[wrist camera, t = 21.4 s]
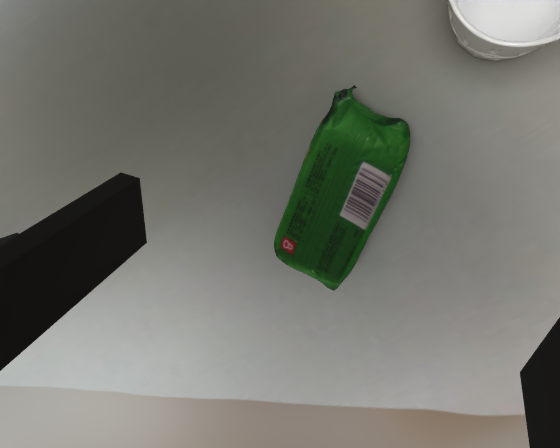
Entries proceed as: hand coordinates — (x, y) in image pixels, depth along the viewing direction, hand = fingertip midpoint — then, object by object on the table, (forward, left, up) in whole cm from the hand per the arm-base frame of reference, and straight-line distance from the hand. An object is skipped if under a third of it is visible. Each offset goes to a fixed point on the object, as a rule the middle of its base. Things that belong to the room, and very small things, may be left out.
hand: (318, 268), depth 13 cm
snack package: (+1, -4, -23) cm, 23 cm away
